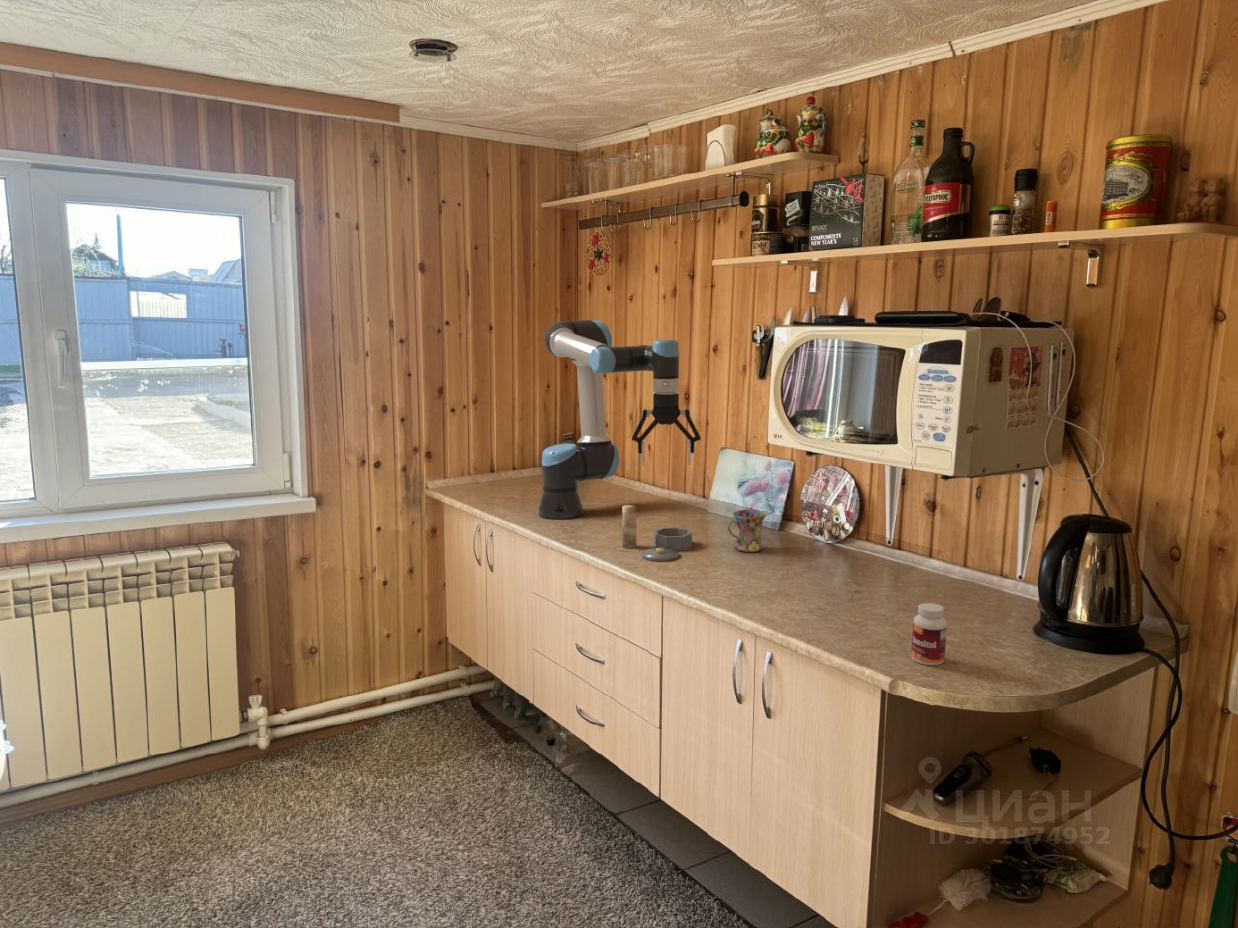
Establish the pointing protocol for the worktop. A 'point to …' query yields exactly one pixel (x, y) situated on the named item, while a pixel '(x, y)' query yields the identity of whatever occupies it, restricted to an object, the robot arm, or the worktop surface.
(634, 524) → the dowel
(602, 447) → the robot arm
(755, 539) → the mug
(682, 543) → the candle jar
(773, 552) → the worktop surface
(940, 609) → the pill bottle
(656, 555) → the jar lid
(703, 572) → the worktop surface
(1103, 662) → the worktop surface
